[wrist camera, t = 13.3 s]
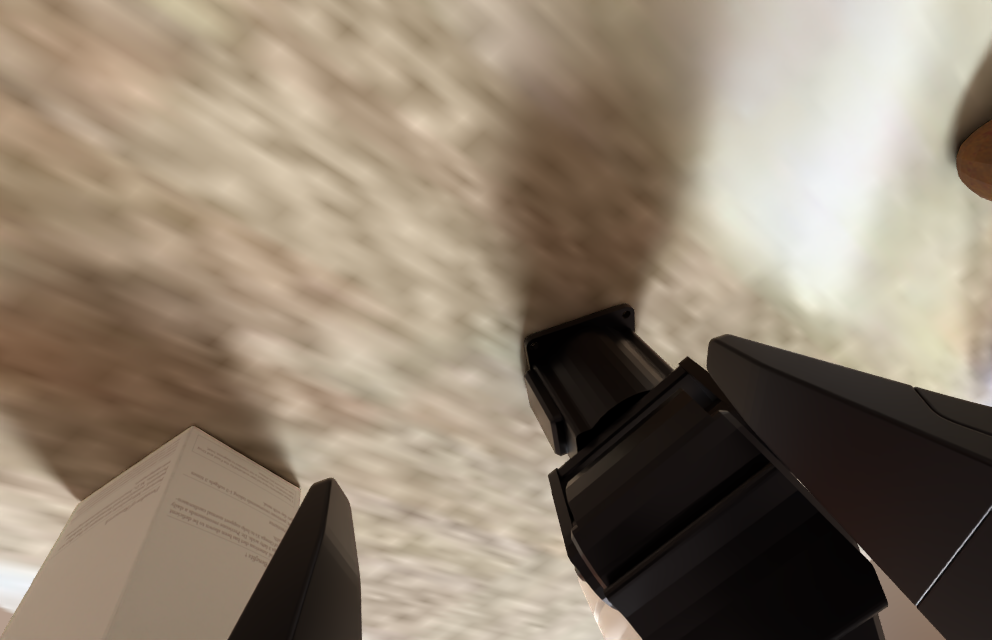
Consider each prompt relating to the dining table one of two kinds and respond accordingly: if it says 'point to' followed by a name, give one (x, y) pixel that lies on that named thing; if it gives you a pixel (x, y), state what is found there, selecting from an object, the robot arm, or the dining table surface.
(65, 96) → the dining table surface
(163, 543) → the supplement box
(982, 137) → the potato
